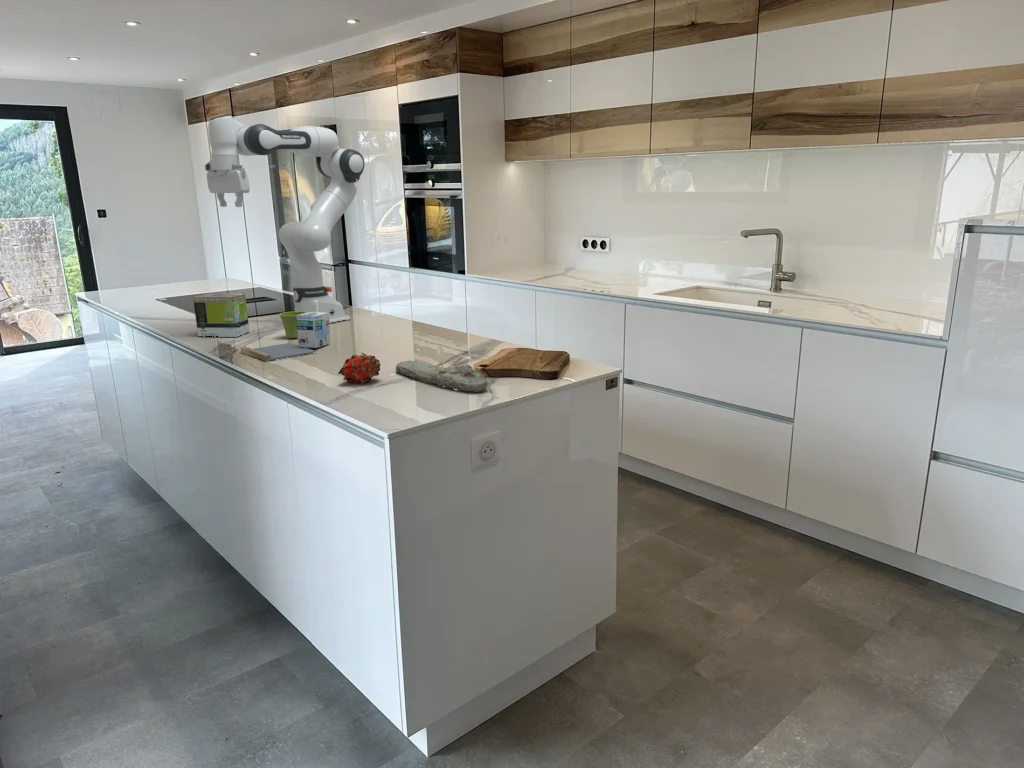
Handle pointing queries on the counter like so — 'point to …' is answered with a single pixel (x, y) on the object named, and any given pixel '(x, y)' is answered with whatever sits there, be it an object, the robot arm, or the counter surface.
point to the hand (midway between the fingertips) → (231, 206)
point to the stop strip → (256, 353)
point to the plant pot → (290, 323)
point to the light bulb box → (313, 329)
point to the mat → (284, 350)
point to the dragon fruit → (360, 368)
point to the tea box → (221, 314)
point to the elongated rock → (444, 375)
